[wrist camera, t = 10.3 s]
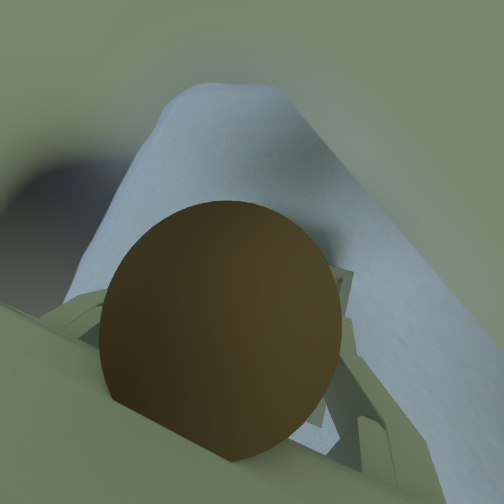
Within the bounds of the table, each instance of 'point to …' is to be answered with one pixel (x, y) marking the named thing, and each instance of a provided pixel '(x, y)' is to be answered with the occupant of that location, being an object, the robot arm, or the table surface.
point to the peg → (222, 327)
